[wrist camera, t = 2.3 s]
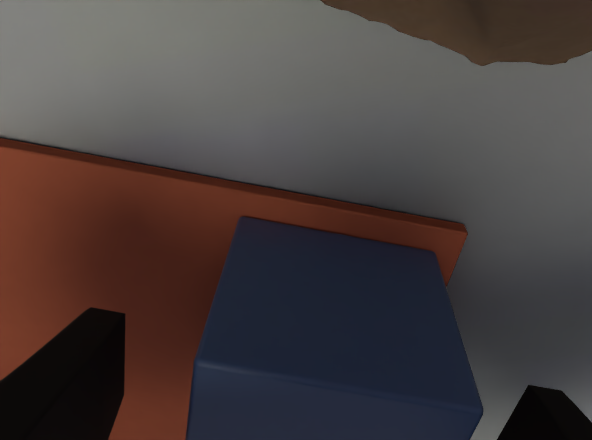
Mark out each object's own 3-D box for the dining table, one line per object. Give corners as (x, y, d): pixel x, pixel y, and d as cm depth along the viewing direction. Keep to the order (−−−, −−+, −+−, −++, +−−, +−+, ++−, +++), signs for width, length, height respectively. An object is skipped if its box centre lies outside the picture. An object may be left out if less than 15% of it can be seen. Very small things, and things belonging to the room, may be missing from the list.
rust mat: (325, 576, 18) (324, 589, 17) (-4, 523, 17) (-11, 536, 17) (464, 223, 11) (469, 233, 10) (-84, 121, 10) (-98, 128, 10)
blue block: (384, 387, 12) (404, 567, 9) (219, 358, 12) (174, 530, 9) (436, 249, 10) (488, 412, 7) (239, 213, 10) (192, 361, 7)
